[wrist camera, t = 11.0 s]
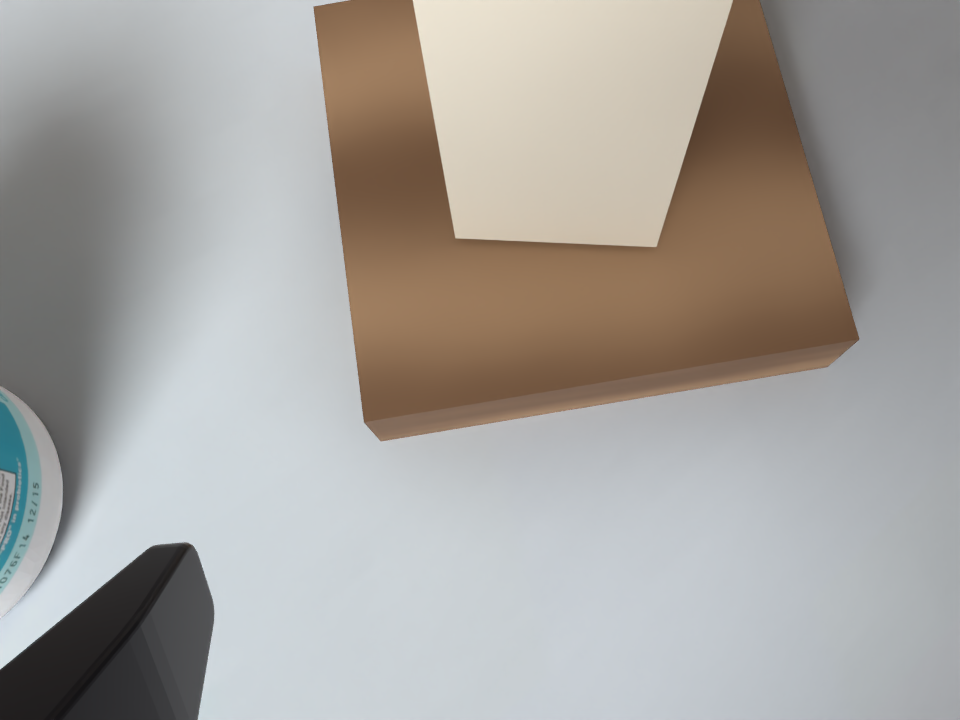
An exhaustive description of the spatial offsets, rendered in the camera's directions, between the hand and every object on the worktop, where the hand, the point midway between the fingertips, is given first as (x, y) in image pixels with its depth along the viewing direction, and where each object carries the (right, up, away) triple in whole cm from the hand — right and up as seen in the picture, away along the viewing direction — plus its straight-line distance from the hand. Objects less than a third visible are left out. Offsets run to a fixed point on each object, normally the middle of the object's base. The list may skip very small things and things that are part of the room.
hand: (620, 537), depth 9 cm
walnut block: (+1, +6, +17) cm, 18 cm away
